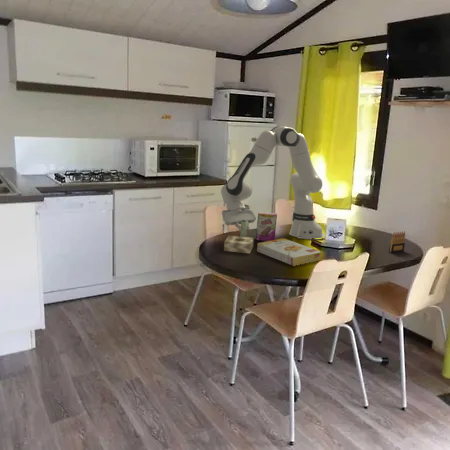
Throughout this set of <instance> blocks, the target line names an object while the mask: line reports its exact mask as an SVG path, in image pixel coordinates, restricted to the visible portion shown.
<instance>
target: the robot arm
mask: <svg viewBox="0 0 450 450" xmlns="http://www.w3.org/2000/svg"><path fill="white" fill-rule="evenodd" d="M277 146H281V147H287V148H288V149H289V153H290V158H291V162H292V163H291V164H292V167H293V168H294V170H295V171H296V172H293V173H292V174H291V176H290V179H289V182H290V185H291V186H292V190H293V194H294V195H293V197H294V207H293V212H292V224H291V227H290V231H289V233H288V234H289V235H290V236H292V237H296V238H297V239H300V240H301V239H302V240H305V239H306V240H313V239H312V238H322V237H324V233H323V227H322V226H321V225H320V224H319V223H318V221H316V220H315V219H316V216H315V214H314V213H313V205H314V200H313V199H312V197H311V194H315V193H318V192H320V191H321V189H322V187H323V180H322V178H321V177H320V176H319V175H318V174H317V172H316V169H315V167H314V165H313V162H312V159H311V155H310V150H309V146H308V142H307V140H306V138H305V136H304V135H303V134H302V133H298V132H297V130H295V128H294V127H293V128H292V127H287V126H276V127H273V128H272V129H270V130H264V131H262V132H261V133H260V134H259V136H258V138H257V139H256V141H255V143H254V144H253V146H252V148H251V150H250V151H249V153H247V154H246V155H245V156H244V158H243V159H242V161H241V162H240V164H239V165H238V167H237V169H236V170H235V172H234V173H233V175H232V176H230V178H229V179H228V180H227V182H226V183H225V184H224V185H223V186H222V187H221V189H220V194H221V197H222V201H223V203H224V204H225V206H226V210H222V211H221V215H222V218H223V221H224V224H225V226H235V227H236V228H237V229H238V231H240V232H241V230H242V229H243V228H242V226H241V221H242V220H247V231H248V230H250V226H249V225H250V224H253V223H254V222H256V219H257V216H256V215H255V213H254V211H253V210H252V209H251V205H249V204H246V203H243V202H242V201H245V200H247V199H248V198H251V195H252V192H253V188H252V185H250V184H249V183H248V182H246V181H244V180H245V178H246V176H247V175H248V172H250V170H251V168H253V167H254V166H259V165H260V166H261V165H263V164H265V163H267V162H268V160H269V158H270V157H271V156H272V155H271V154H272V153H273V150H274V149H275V148H276V147H277Z"/></svg>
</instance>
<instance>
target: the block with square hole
mask: <svg viewBox="0 0 450 450" xmlns="http://www.w3.org/2000/svg"><path fill="white" fill-rule="evenodd" d="M254 240H255V238H254V237H249V236H247V237H240V236H237V235H228V236H227V238H225V240H224V242H223V243H224V244H223V251H224V252H232V253H233V252H234V253H239V254H240V253H242V254H251V252H252V250H253V249H254V244H255V241H254Z"/></svg>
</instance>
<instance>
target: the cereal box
mask: <svg viewBox="0 0 450 450" xmlns="http://www.w3.org/2000/svg"><path fill="white" fill-rule="evenodd" d="M256 252H258V253H259V254H263V255H265V256H268V257H270V258H273V259H276V260H277V261H280V262H283V263H285V264H288V265H291V266H293V267H295V266H296V265H297V266H301V265H305V263H306V264H309V262H310V263H314V262H318V261H321V259H322V251H320V250H318V249H315V248H312V247H309V246H306V245H304V244H301V243H298V242H296V241H293V240H290V239H287V238H284V237H283V238H275V240H271V241H260V242H257V247H256ZM300 264H301V265H300Z"/></svg>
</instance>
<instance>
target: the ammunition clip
mask: <svg viewBox="0 0 450 450" xmlns="http://www.w3.org/2000/svg"><path fill="white" fill-rule="evenodd" d="M405 241H406V231H395V232H393V233H392V235H391V240H390V244H389V249H388V253H390V254H395V253H394V252H396V253H401V251H403V252H405V244H406V243H405Z"/></svg>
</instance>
